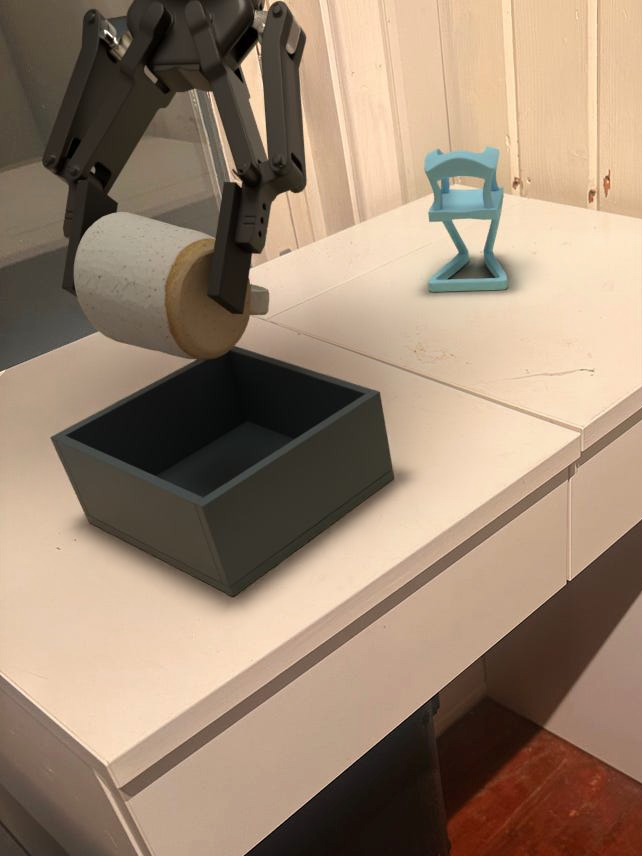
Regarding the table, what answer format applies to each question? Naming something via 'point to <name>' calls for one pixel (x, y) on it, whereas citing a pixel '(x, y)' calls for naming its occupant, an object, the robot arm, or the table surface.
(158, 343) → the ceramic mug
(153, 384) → the tub
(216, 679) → the table surface
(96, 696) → the table surface
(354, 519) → the table surface
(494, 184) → the chair
